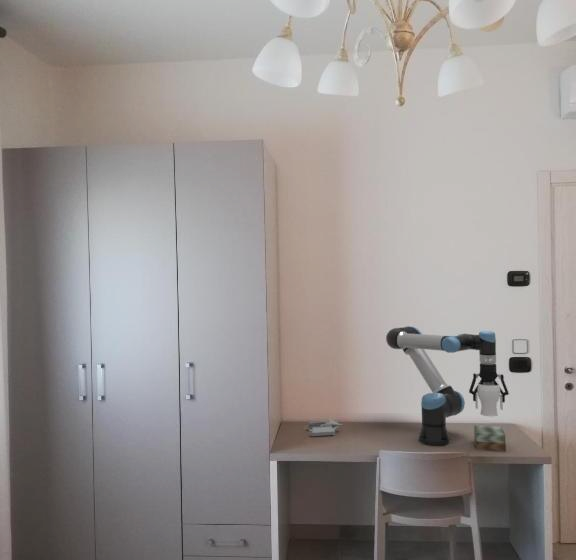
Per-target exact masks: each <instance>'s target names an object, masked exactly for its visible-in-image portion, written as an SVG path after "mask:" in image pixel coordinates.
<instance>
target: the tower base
mask: <svg viewBox="0 0 576 560" xmlns="http://www.w3.org/2000/svg"><path fill="white" fill-rule="evenodd" d="M473 428H474V430H473V431H474V437H473V438H474V445H475V450H476V451H490V452H501V453H502V452H505V453H506V452H507V451H506V450H507V447H506V443H507V442H506V433H505V431H504V428H503V426H493V425H492V426H491V425H476V424H475V425H474V426H473Z"/></svg>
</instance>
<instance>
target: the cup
mask: <svg viewBox="0 0 576 560" xmlns="http://www.w3.org/2000/svg"><path fill="white" fill-rule="evenodd" d="M497 384H498V385H495V384H494V383H493V382H492V383H490V382H487V383H485V382H484V383H483V384H482V385H481V384H479V382H478V383H477V385H478V392H477V393H476V394H477V398H478V399H479V401H480V404H481V409H480V416H481V415H482V416H483V417H484V416H485V417H497V416H498V414H499V413H498V408H497V405H498V404H497V403H498V402H499V401H500V395H501V393H500V388H501V386H500V384H499V383H498V382H497Z"/></svg>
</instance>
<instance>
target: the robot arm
mask: <svg viewBox="0 0 576 560" xmlns="http://www.w3.org/2000/svg"><path fill="white" fill-rule="evenodd" d="M385 336H386V337H385V340H386V341H385V342H386V343H387V345H388V346H389V347H390V348H392V350H393V349H394V350H402V351H403V352H404V354H405V355H408V356H409V357H410V358H411V361H412V362H413V363H414V365H415V366H416V368H417V370H418V372H419V374H420V375H421V376H422V378H423V380H424V382H425V383H426V385H427V386H428V387H429V389H430V391H431V392H429V393H426V394H424V395H423V396H422V397H421V402H420V406H421V427H420V430H419V435H418V442H420V443H422V444H423V445H426V446H431V447H432V446H435V447H440V446H441V447H442V446H446V445H449V444H450V443H451V439H450V434H449V432H448V429H447V421H446V420H447V418H449V417H452V416H457V415H458V414H461V413H462V412H463V411H464V409H465V404H466V403H465V398H464V397H463V396H464V395H463V394H461V392H459V391H457V390H454V388H453V387H452V385H450V384H447V383H446V381H445V380H444V378H443V376H442V375H441V374H440V372H439V371H438V369H437V367H436V365H435V364H434V363H433V361H432V359H431V357H430V356H429V355H428V353H427V352H426V350H430V351H432V350H433V351H442V352H446V353H457V352H462V351H468V350H471V351H472V350H475V351H479V362H480V363H479V373H475V372H474V373H473V377H472V381H471V383H470V384H471V385H470V387H469V390H468V393H469V394H471V395H472V401H473V402H475V409H477V410H478V408H479V406H478V405H479V404H478V402H479V401H478V394H477V392H478V384H477V385H476V387H475V384H476V381H477V379H478V378H479V377H480V380H479V382H478V383H479V384H481V385H482V384H483V383H484V382H485V383H487V382H490V383H492V382H493V383H494V384H495V385H498V384H499V383H498V381H497V380H496V379H499V380H500V382H501V384H502V387H503V389H504V391H503V389H502V388H501V387H500V397H499V403H500V404H499V406H500V407H499V408H500V410H501V411H503V409H504V408H503V403H505V402H506V398H505V397H506V396H508V395H509V391H508V387H507V385H506V381H505V378H504V377H505V376H504V374H503V373H497V364H496V363H497V352H496V351H497V349H496V348H497V345H496V344H497V343H496V342H497V339H496V333H495V332H494V331H492V330H490V331H489V330H481V331H479V333H478V334H470V333H459V334H457V335H453V336H452V335H440V334H439V335H436V334H422V332H421V331H420V329H419V328H417V327H415V326H403V327H394V328H392V329H390V330H389V331H388V332H387V333H386V335H385ZM497 383H498V384H497ZM474 387H475V388H474Z"/></svg>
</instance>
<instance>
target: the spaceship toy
mask: <svg viewBox="0 0 576 560" xmlns="http://www.w3.org/2000/svg"><path fill="white" fill-rule="evenodd" d="M340 426H343V424H342V423H339V422H338V421H335V420H333V419H331V418H328V421H327V420H326V421H325V420H323V421H312V422H311V421H310V422H309V423H308V424H307V428H303V430H305V429H307V430H308V431H309V432H310V431H312V432H311V437H320V436H321V437H322V436H335V435H336V429H337V430H338V429H339V428H340ZM303 427H306V425H304V426H303Z"/></svg>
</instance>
